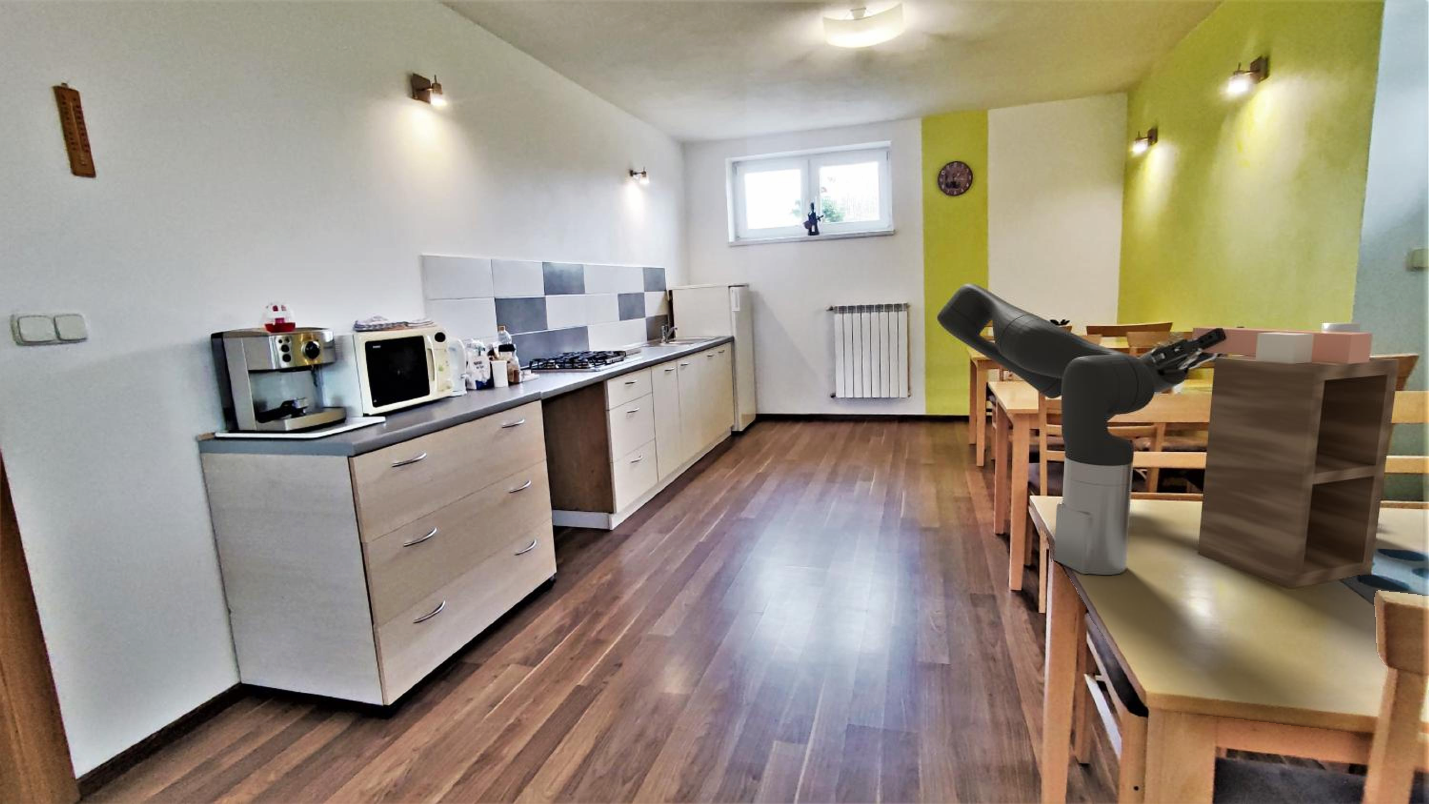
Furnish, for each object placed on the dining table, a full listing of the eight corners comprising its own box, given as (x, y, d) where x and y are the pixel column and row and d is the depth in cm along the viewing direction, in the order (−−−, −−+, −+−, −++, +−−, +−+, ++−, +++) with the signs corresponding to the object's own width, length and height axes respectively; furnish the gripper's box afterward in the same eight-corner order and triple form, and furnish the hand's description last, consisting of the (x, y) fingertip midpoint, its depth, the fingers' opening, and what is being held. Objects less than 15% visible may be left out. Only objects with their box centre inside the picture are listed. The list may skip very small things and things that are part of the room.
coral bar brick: (1347, 363, 92) (1351, 334, 91) (1191, 351, 114) (1193, 327, 113) (1369, 362, 93) (1372, 333, 92) (1209, 350, 115) (1211, 326, 114)
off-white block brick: (1291, 363, 94) (1294, 335, 93) (1255, 360, 99) (1257, 333, 98) (1310, 362, 95) (1314, 333, 94) (1273, 359, 100) (1276, 332, 99)
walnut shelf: (1290, 588, 95) (1315, 366, 90) (1197, 552, 109) (1214, 357, 104) (1371, 573, 99) (1399, 359, 94) (1272, 540, 113) (1292, 352, 108)
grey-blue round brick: (1343, 359, 97) (1347, 324, 96) (1311, 356, 101) (1314, 323, 100) (1364, 357, 98) (1368, 323, 97) (1331, 355, 102) (1335, 322, 101)
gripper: (1111, 358, 124) (1190, 313, 108) (1172, 354, 127) (1257, 310, 111) (1126, 395, 121) (1209, 355, 105) (1188, 390, 125) (1277, 350, 109)
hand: (1233, 332), depth 109 cm, fingers closed on coral bar brick, 4 cm apart
